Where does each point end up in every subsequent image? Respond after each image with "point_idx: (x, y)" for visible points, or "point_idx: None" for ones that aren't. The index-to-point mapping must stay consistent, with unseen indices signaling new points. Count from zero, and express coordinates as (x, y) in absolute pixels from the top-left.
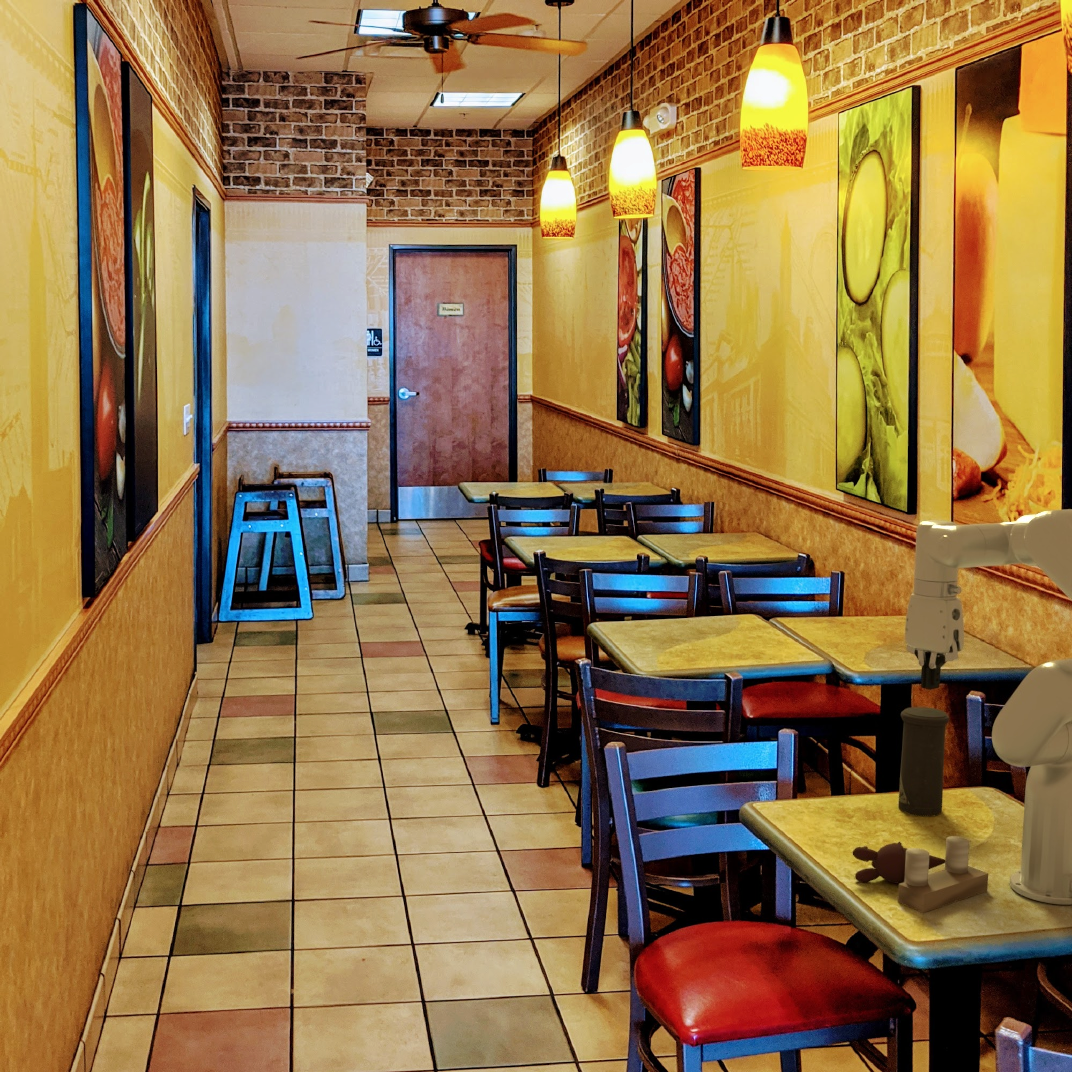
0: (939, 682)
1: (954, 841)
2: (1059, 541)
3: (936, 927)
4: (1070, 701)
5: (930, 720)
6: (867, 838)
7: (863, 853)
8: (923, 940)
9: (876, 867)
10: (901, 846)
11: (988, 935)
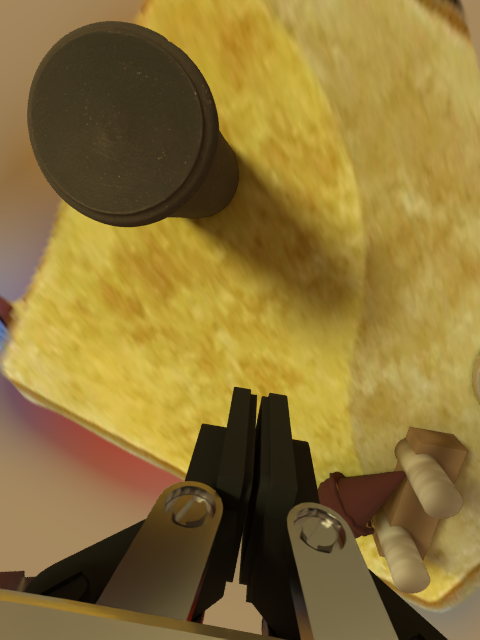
0: (307, 445)
1: (440, 512)
2: None
3: (441, 563)
4: None
5: (185, 200)
6: (219, 375)
7: None
8: (443, 595)
9: None
10: (359, 533)
11: None
